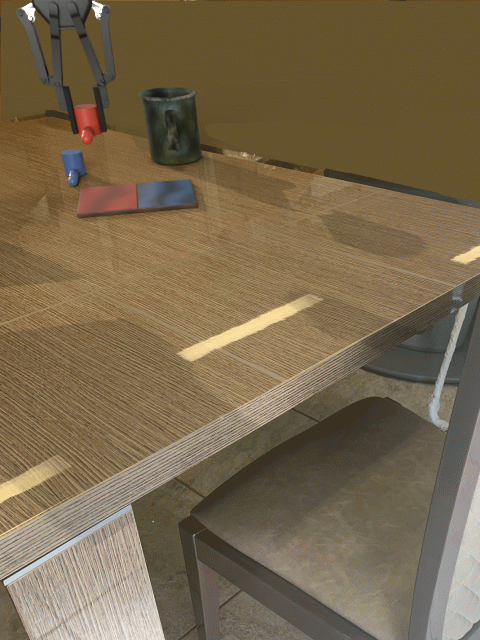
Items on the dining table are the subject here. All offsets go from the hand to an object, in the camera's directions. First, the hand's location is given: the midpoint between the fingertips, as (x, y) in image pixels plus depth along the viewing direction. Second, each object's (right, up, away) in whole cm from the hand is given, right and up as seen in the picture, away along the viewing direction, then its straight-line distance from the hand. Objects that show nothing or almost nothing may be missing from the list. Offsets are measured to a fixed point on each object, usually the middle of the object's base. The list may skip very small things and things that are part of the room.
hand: (90, 131), depth 104 cm
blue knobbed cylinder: (-8, -2, +14) cm, 16 cm away
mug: (+9, +5, +23) cm, 25 cm away
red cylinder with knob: (+1, -2, -2) cm, 3 cm away
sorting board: (+6, -9, +5) cm, 12 cm away
